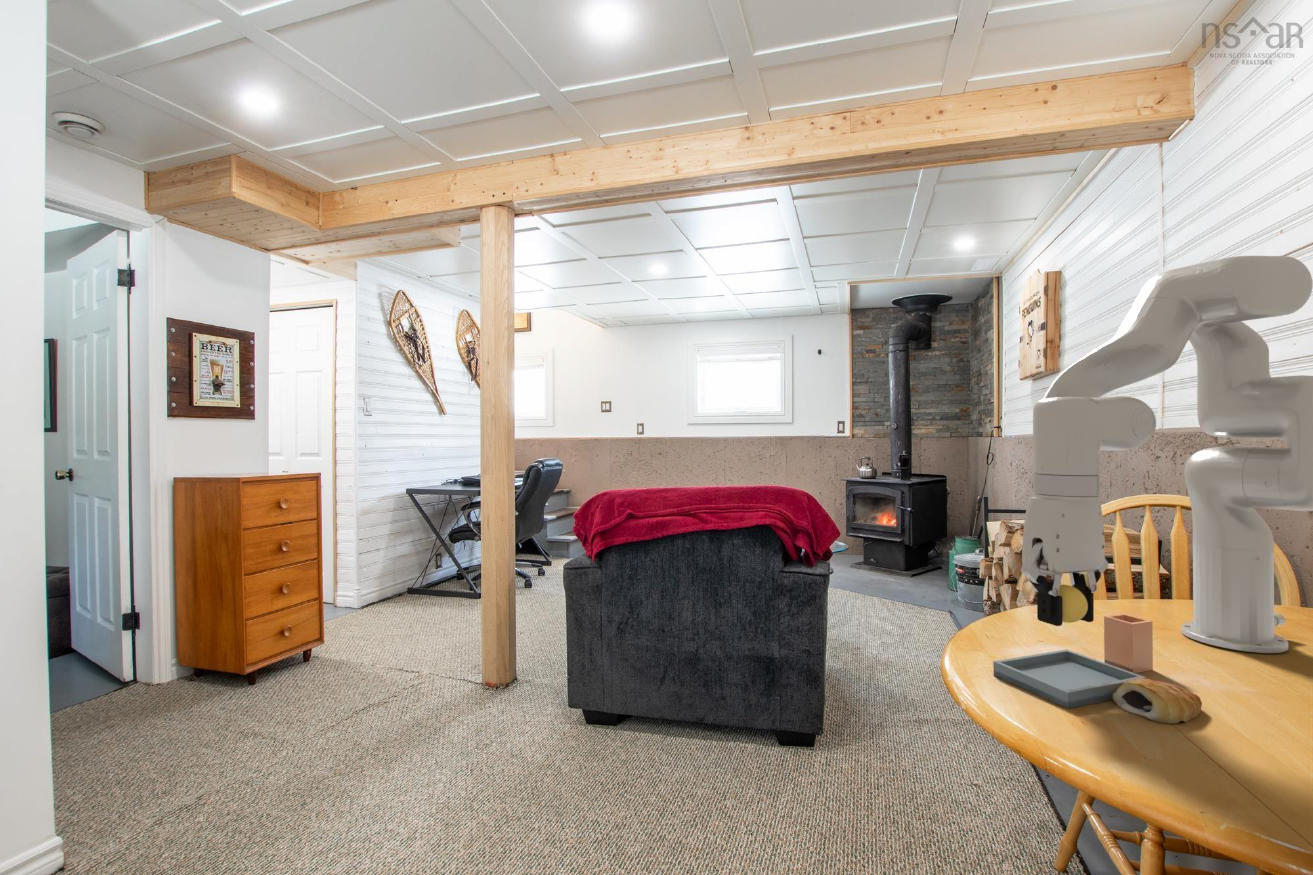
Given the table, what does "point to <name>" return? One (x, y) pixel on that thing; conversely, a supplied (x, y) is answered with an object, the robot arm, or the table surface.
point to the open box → (1128, 642)
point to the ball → (1072, 604)
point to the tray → (1064, 677)
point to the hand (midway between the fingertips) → (1065, 619)
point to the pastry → (1158, 700)
